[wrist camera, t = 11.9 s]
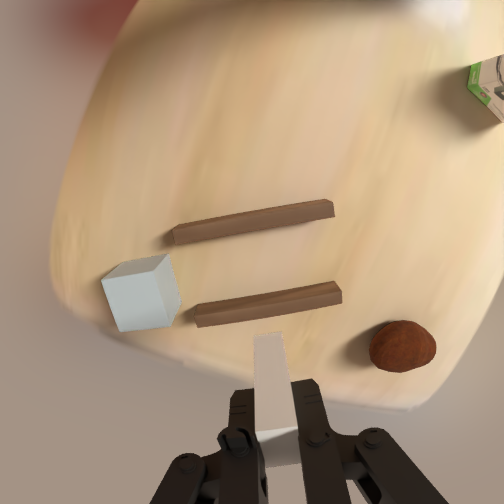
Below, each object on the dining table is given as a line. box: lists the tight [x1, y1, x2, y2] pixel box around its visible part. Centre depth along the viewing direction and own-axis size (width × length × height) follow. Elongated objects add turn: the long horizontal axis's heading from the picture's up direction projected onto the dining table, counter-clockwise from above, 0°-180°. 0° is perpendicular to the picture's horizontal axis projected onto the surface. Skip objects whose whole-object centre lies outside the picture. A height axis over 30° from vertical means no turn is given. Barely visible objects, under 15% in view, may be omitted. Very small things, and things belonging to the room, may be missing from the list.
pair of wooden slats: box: [172, 199, 342, 328], centre depth 31 cm, size 11×16×3 cm
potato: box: [369, 320, 436, 373], centre depth 33 cm, size 7×9×6 cm
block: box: [101, 253, 182, 332], centre depth 31 cm, size 6×6×6 cm
